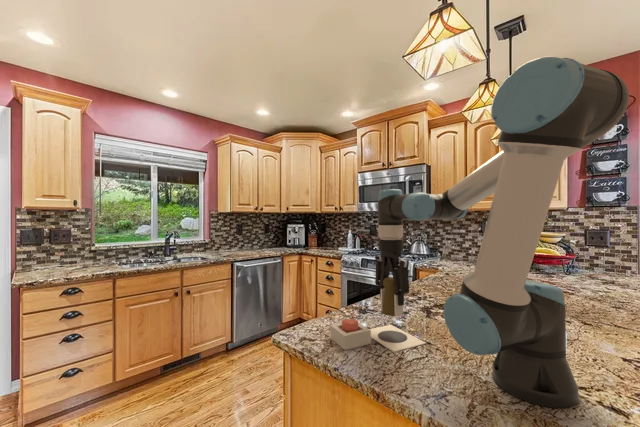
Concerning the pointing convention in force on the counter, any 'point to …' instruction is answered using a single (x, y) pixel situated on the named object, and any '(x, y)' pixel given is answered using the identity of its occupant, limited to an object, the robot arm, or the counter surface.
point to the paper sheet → (394, 338)
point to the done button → (349, 325)
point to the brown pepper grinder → (388, 297)
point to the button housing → (350, 336)
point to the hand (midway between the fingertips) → (391, 311)
